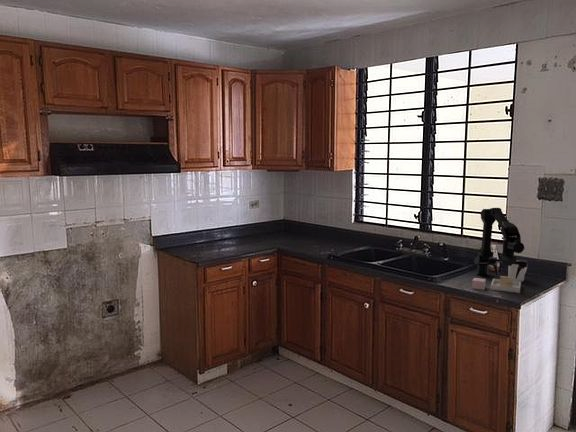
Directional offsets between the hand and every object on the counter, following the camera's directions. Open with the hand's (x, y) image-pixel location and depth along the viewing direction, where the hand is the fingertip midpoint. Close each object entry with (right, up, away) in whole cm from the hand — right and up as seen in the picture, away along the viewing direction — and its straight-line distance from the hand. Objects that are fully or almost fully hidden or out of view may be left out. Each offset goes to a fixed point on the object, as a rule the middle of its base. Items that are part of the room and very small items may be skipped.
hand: (506, 277), depth 256 cm
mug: (+14, -4, +17) cm, 22 cm away
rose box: (-14, -6, +2) cm, 16 cm away
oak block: (0, -5, +1) cm, 5 cm away
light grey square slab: (0, -6, +1) cm, 6 cm away
